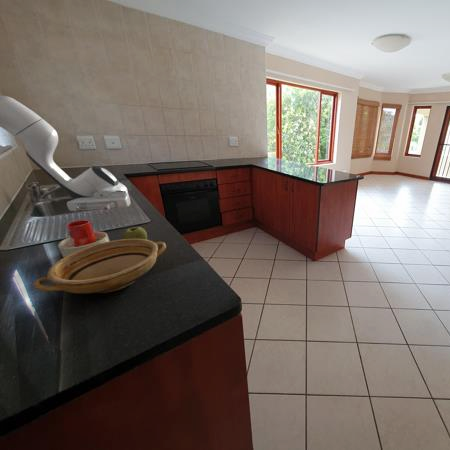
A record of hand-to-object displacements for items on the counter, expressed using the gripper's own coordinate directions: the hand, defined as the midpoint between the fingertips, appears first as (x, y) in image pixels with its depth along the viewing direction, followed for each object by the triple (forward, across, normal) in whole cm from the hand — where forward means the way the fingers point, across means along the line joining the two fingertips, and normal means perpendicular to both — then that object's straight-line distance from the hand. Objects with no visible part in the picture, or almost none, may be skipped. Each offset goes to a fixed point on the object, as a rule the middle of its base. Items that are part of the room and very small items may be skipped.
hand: (91, 208), depth 91 cm
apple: (+14, +16, +12) cm, 25 cm away
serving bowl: (+12, +1, +12) cm, 17 cm away
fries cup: (+12, +1, +11) cm, 17 cm away
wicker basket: (+36, +17, +12) cm, 42 cm away
